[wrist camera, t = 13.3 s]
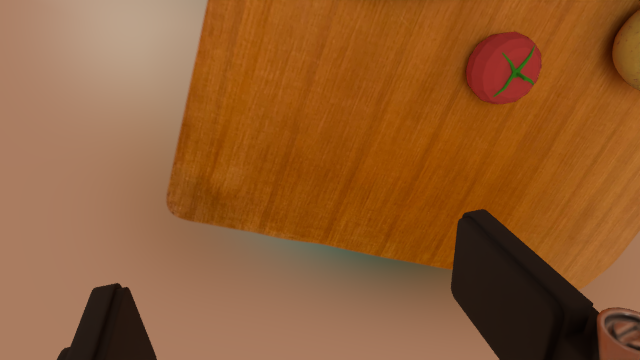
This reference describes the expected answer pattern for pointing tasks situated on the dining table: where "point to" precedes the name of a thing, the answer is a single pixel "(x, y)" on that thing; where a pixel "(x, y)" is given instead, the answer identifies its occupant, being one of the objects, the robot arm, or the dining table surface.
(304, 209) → the dining table surface
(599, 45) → the dining table surface
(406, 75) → the dining table surface
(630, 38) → the fruit
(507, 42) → the tomato
